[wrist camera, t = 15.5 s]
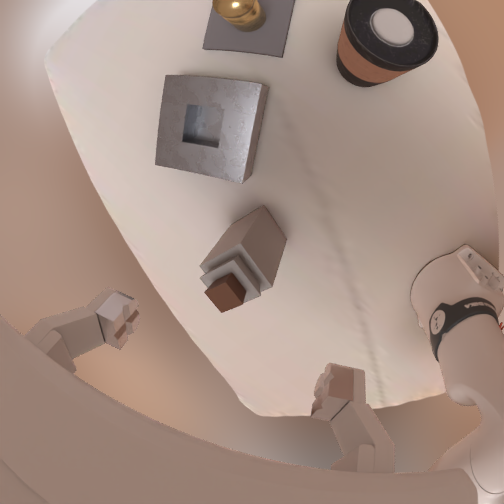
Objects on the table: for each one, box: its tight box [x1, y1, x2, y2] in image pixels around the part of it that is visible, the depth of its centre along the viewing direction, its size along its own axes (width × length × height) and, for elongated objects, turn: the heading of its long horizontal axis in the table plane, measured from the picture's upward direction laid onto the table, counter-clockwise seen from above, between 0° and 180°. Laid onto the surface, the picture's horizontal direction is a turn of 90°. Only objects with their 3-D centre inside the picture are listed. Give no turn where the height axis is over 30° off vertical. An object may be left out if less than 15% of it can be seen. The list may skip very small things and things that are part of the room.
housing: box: [155, 75, 269, 184], centre depth 37 cm, size 14×14×5 cm
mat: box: [202, 0, 295, 57], centre depth 29 cm, size 12×12×1 cm
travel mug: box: [337, 0, 438, 87], centre depth 21 cm, size 8×8×20 cm
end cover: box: [213, 0, 266, 32], centre depth 25 cm, size 5×5×8 cm
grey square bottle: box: [200, 205, 287, 313], centre depth 38 cm, size 7×7×18 cm
